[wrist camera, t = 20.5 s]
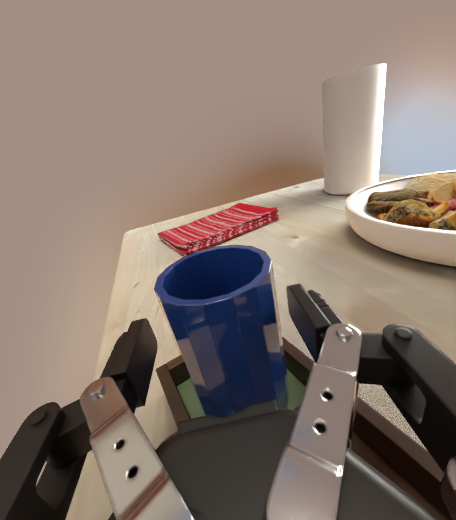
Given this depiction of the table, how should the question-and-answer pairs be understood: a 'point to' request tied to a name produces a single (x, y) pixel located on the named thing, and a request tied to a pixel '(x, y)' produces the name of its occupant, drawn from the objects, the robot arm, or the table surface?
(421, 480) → the holder
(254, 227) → the dish towel
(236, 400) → the cup
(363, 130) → the cylinder vase
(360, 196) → the bowl
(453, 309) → the table surface
